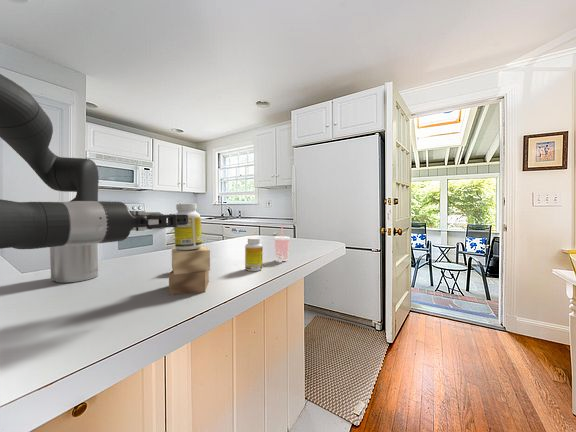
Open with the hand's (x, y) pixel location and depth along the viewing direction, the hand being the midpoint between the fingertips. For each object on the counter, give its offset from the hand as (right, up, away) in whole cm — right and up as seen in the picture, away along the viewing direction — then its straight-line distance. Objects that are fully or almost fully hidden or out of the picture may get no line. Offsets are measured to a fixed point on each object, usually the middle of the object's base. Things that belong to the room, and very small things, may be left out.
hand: (174, 218), depth 58 cm
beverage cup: (+24, -16, +36) cm, 46 cm away
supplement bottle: (+15, -17, +23) cm, 32 cm away
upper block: (+2, -13, +4) cm, 13 cm away
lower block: (+2, -18, +4) cm, 18 cm away
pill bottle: (+2, -8, +4) cm, 9 cm away
